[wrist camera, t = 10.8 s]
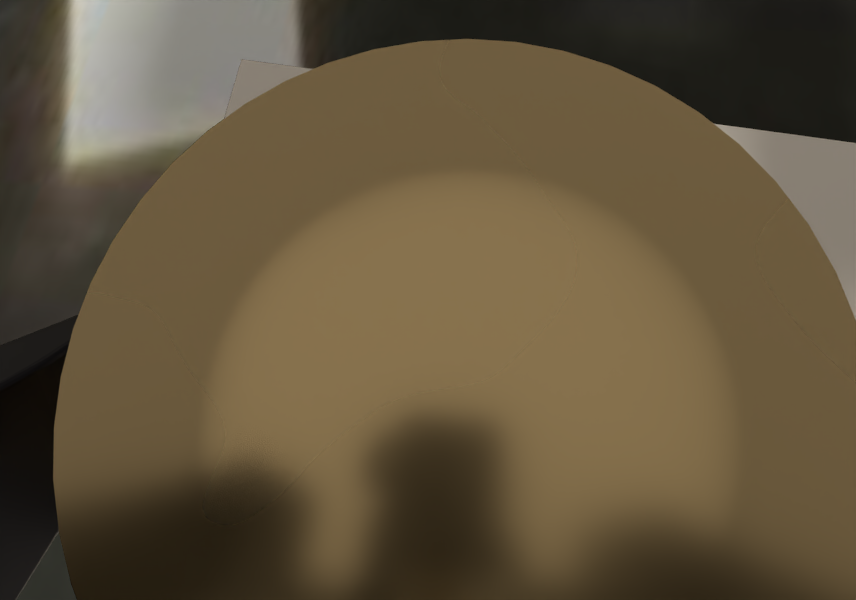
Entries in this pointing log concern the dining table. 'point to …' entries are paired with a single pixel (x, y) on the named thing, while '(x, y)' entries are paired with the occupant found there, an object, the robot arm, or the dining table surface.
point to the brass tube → (461, 353)
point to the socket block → (775, 152)
